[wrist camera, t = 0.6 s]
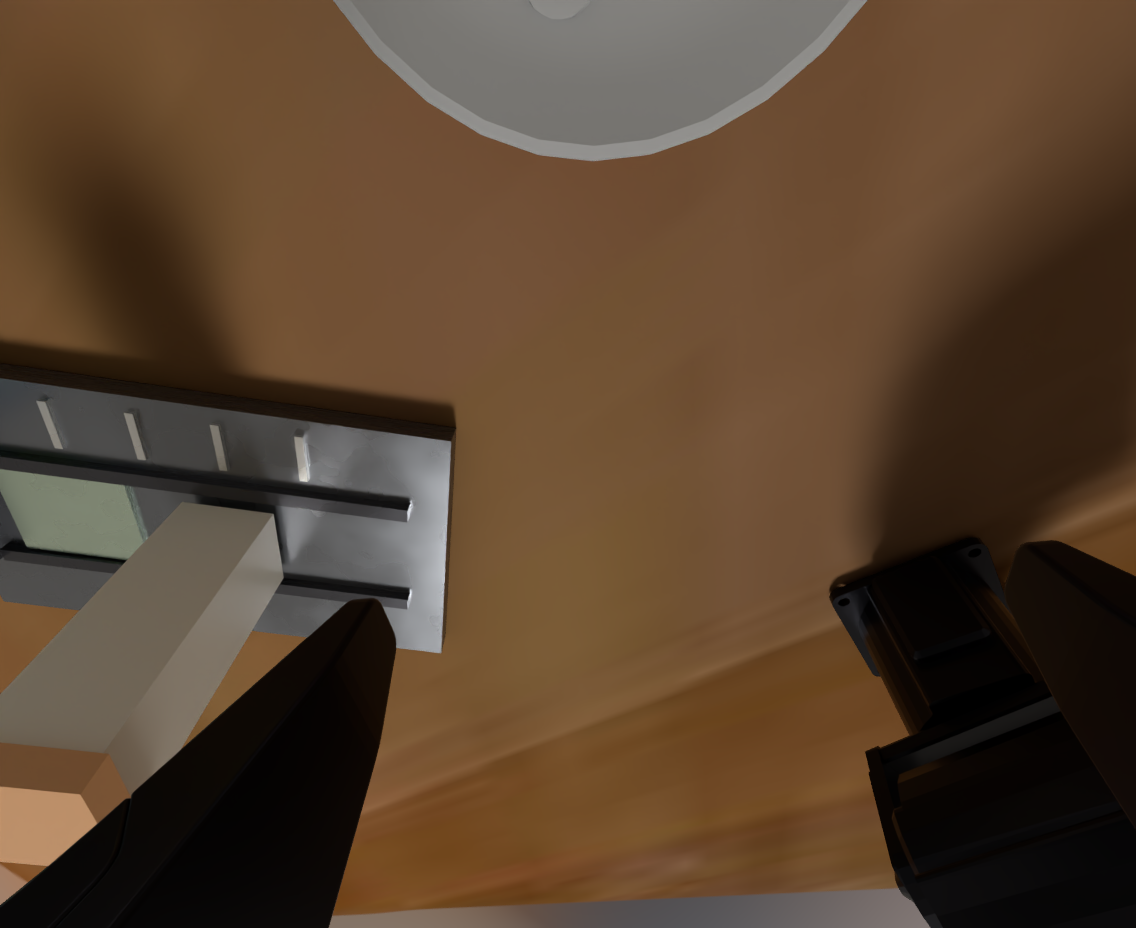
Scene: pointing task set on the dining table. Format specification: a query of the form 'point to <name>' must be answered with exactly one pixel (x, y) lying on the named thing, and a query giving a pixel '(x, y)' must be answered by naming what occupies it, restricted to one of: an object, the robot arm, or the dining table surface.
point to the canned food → (597, 64)
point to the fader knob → (129, 676)
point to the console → (223, 494)
